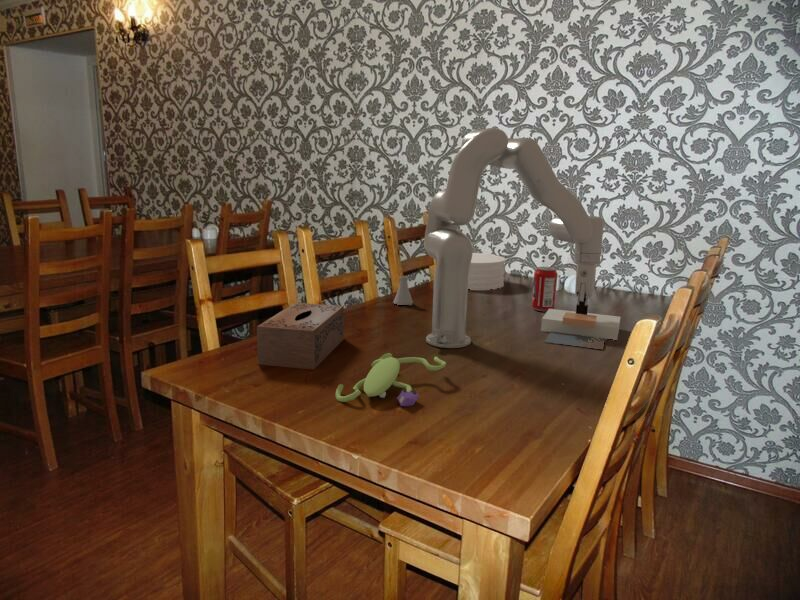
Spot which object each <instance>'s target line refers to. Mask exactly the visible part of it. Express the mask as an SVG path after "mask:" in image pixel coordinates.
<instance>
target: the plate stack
mask: <svg viewBox="0 0 800 600" xmlns="http://www.w3.org/2000/svg"><path fill="white" fill-rule="evenodd" d="M505 263H506V258H505V257H504V256H501V255H498V254H497V255H496V254H491V253H481V252H473V253H472V259H471V264H470V269H469V276H468V289H470V290H469V291H491V290H490V289H493V290H498V289H497V288H499V289H501V287H502V288H503V287H504V286H505V282H504V281H505V276H504V275H505V274H506V272H505V271H506V270H505V268H506V264H505Z"/></svg>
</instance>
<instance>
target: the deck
mask: <svg viewBox="0 0 800 600" xmlns="http://www.w3.org/2000/svg"><path fill="white" fill-rule="evenodd" d="M566 312H569V313H576V311H575V310H572V311H571V310H567V309H566V310H565V309H557V308H556V309H555V308H554V309H548V311H547V312H545V314H544V315H543V317H542V318H541V323H540V325H541V327H540V332H546V333H550V332H558V333H566V334H574V335H583V336H590V337H599V338H606V340H607V339H613V340H612V341H614V340H617V341H618V337H619V332H620V325H621V318H622V317H621V316H616V315H610V314H609V315H608V314H601V313H600V314H599V313H591V312H587V315H594V316H597V319H596V324H595V327H594V328H591V327H583V326H575V325H567V324H562V323H563V317H564V315H565V313H566Z"/></svg>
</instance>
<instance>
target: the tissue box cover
mask: <svg viewBox="0 0 800 600" xmlns="http://www.w3.org/2000/svg"><path fill="white" fill-rule="evenodd" d="M344 311H345V307H344V305H339V304H338V305H336V304H333V305H332V304H322V303H321V304H320V303H318V304H317V303H306V302H294V303H292V304H290V305H289V306H287V307H286V308H284V309H282V310H281V311H279V312H278V313H276V314H275V315H272V316H271V317H270V318H267V320H264V321H263V322H262V323H260V324H258V325H257V326H256V339H257V341H256V342H257V343H256V344H257V365H261V366H272V367H283V368H293V369H304V370H305V369H306V370H315V369H316V368H317V367H318V366H319V365H320V364H322V362H324V360H325V359H326V358H327V357H328V356H329V355H330V354H331V353H332V352H333V350H335V348H337V347H338V346H339V345H340V344H341V343H342V342H343V340H345V339H344V338H345V332H344V331H345V327H344V325H345V316H344V315H345V312H344Z"/></svg>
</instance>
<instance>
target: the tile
mask: <svg viewBox="0 0 800 600" xmlns="http://www.w3.org/2000/svg"><path fill="white" fill-rule="evenodd" d="M596 319H597V316H594V315H585V314H577V313H569V312H566V313H565V315H564V317H563V323H562V324H567V325H575V326H583V327H591V328H594V327H595V324H596Z"/></svg>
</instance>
